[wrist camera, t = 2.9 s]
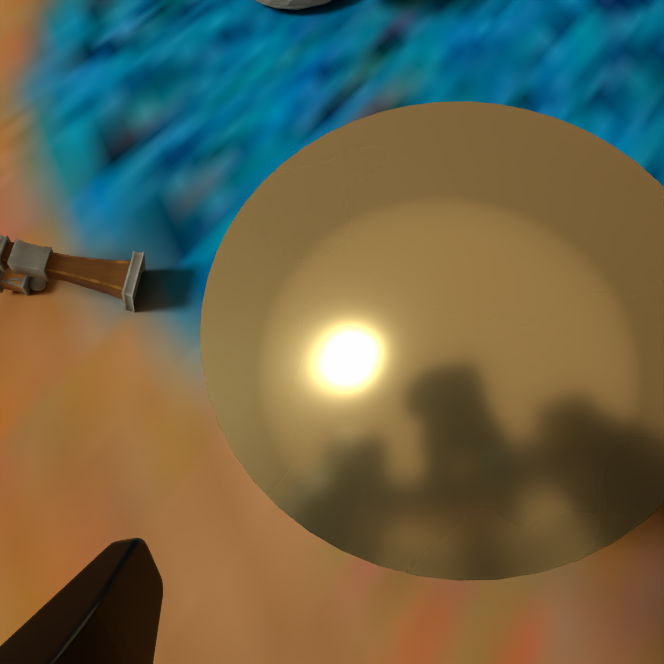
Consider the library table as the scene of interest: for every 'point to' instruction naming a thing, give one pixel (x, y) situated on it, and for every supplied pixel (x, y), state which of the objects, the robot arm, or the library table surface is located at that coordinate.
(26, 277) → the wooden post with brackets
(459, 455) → the pin
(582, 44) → the library table surface
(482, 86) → the library table surface
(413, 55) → the library table surface
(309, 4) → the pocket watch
